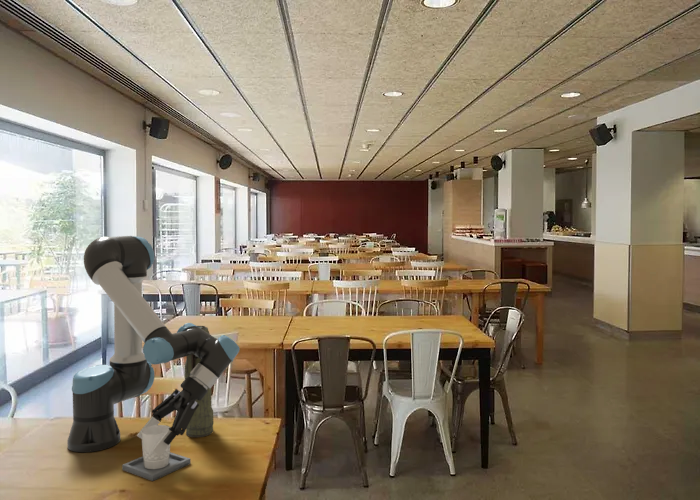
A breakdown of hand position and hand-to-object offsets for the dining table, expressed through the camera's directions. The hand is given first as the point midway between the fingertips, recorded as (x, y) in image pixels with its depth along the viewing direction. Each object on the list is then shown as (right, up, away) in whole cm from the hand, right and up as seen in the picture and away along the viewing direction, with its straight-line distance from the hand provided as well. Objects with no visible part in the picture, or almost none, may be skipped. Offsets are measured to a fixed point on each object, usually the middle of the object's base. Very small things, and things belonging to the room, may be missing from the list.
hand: (147, 445), depth 157 cm
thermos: (+7, -6, +28) cm, 30 cm away
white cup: (+2, -6, +2) cm, 7 cm away
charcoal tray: (+2, -7, +2) cm, 7 cm away
